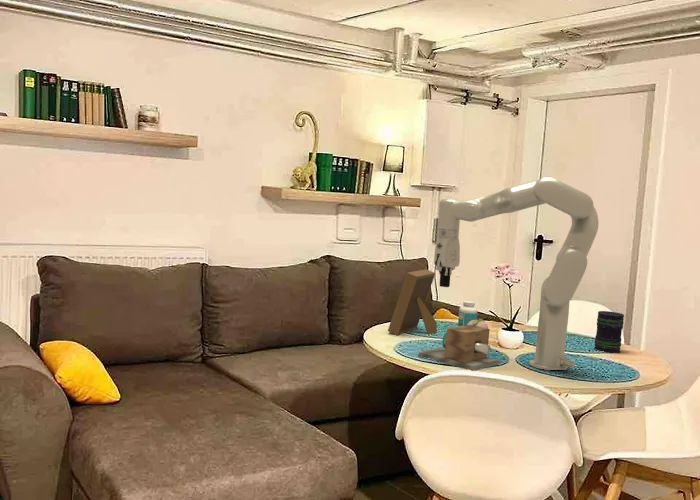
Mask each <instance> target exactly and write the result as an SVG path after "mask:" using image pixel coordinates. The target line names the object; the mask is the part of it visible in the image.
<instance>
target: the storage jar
mask: <svg viewBox="0 0 700 500" xmlns="http://www.w3.org/2000/svg"><path fill="white" fill-rule="evenodd" d="M624 317H625V314H623V313H621V312H615V311H607V310H599V311H597V318H596V326H597V327H596V333H595V337H594V338H595V339H594V348H595V349H597V350H600V351H604V352H609V353H608V354H613V353H617V354H620V353H621V346H622V331H623V329H624V322H625V321H624ZM595 349H594V350H595ZM597 350H596V351H597ZM600 351H599V352H600ZM604 352H603V353H604Z"/></svg>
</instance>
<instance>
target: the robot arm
mask: <svg viewBox="0 0 700 500" xmlns="http://www.w3.org/2000/svg"><path fill="white" fill-rule="evenodd" d="M546 204H547V205H549V206H550V207H553V208H555V209H557V210H558V211H561V212H562V213H564V214H567V215H569V216H570V218H571V225H570V228H569V230H568V233H567V235H566V238H565V240H564V242H563V244H562V246H561V248H560V249H559V251H558V253H557V254H556V258H555V263H554V265H553V267H552V270H551V271H550V273H549V275H548V276H547V277H546V278H545V279H544V281H543V282H542V284H541V287H540V302H539V313H538V322H537V332H536V341H535V343H536V344H535V351H534V359H530V360H529V365H530V366H531V367H534V368H537V369H540V370H543V369H544V371H550V370H565V371H567V370H568V369H567V368H571V369H572V368H575V365H576V364H575V361H574V360H569V359H568V355H566V354H565V352H566V342H567V341H566V340H567V331H568V323H569V313H570V301H571V300H572V298H573V297H574V295H575V293H576V291H577V289H578V287H579V285H580V282H581V281H582V278H583V276H584V274H585V273H586V269H587V266H588V258H587V256H588V254H590V253H589V252H590V250H591V248H592V245H593V243H594V241H595V239H596V236H597V234H598V230H599V216H598V212H597V209H596V208H595V205H594V201H593V198H592V197H591V196H590V195H589V194H587V193H585V192H583V191H581V190H579V189H577V188H575V187H573V186H572V185H568V184H566V183H564V182H563V181H561V180H559V179H557V178H555V177H552V176H544V177H541V178H539V179H536V180H531V181H528V182H525V183H521V184H518V185H513V186H509V187H506V188H504V189H502V190H501V191H498V192H494V193H492V194H490V195H489V194H488V195H486V196H482V197H479V198H474V199H463V200H458V199H452V198H443V199H440V201H439V203H438V216H437V231H436V241H435V248H434V255H433V263H434V266H435V270H436V271H438V273H439V287H442V288H449V287H450V285H451V276H452V271H453V270H455V269H456V268H457V267H459V266H460V258H461V255H460V253H461V249H460V246H461V245H460V238H459V236H460V235H459V234H460V224H461V223H460V221H463V222H464V221H465V222H470V223H471V222H472V223H473V222H476V221H479V220H484V219H487V218H490V217H491V218H492V217H494V216H498V215H503V214H509V213H515V212H518V211H523V210H526V209H530V208H533V207H538V206H541V205H546ZM566 369H567V370H566Z"/></svg>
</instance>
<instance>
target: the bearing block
mask: <svg viewBox="0 0 700 500" xmlns="http://www.w3.org/2000/svg"><path fill="white" fill-rule="evenodd" d="M446 332H447V336H446V347H445V348H444V347H443V346H442V347H438V348H433V349H428V350H422V351H418V353H417V356H422V357H426V358H430V359H433V360H432V361H434V360H437V361H440V362H439V363H441V362H443V364H445V363H446V365H449V364H450V366H453V367H456V368H461V369H465V370H468V369H469V371H472V370H475V371H478V370H482V369H485V368H489V367H493V366H498V365H499V359H495V358H491V357H489V356H488V354H484V353H480V352H476V351H474V346H475V342H477V343H481V344H486V345H489V339H490V338H489V337H490V328H488V329H487V328H482V327H478V326H473V325H465V326H459V327H458V326H454V327H449V328H446ZM422 357H421V358H422ZM426 358H425V359H426ZM430 359H429V360H430ZM437 361H436V362H437Z"/></svg>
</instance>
